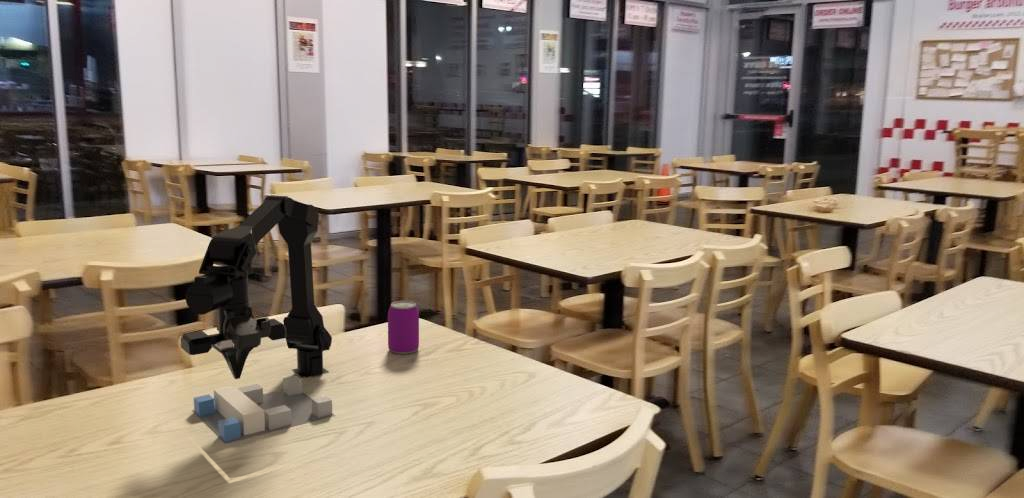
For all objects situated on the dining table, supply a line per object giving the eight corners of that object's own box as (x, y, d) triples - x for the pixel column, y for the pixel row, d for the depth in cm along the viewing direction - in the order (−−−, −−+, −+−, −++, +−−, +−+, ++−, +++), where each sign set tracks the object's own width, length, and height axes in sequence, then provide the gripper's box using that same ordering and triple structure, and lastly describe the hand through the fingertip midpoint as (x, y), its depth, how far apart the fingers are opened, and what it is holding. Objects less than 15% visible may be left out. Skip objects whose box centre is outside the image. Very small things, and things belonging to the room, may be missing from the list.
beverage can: (421, 346, 209) (421, 300, 206) (415, 356, 201) (415, 308, 199) (392, 344, 209) (391, 299, 207) (384, 354, 202) (384, 307, 199)
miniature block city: (191, 413, 164) (190, 396, 163) (295, 389, 178) (294, 373, 177) (225, 446, 150) (224, 428, 149) (335, 418, 163) (335, 401, 162)
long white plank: (214, 408, 165) (213, 389, 165) (234, 403, 168) (233, 385, 167) (244, 435, 153) (243, 415, 152) (264, 430, 156) (264, 410, 155)
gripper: (197, 318, 144) (202, 402, 147) (297, 302, 155) (299, 380, 158) (177, 304, 152) (182, 383, 155) (273, 290, 164) (276, 364, 167)
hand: (236, 378), depth 159 cm, fingers closed
